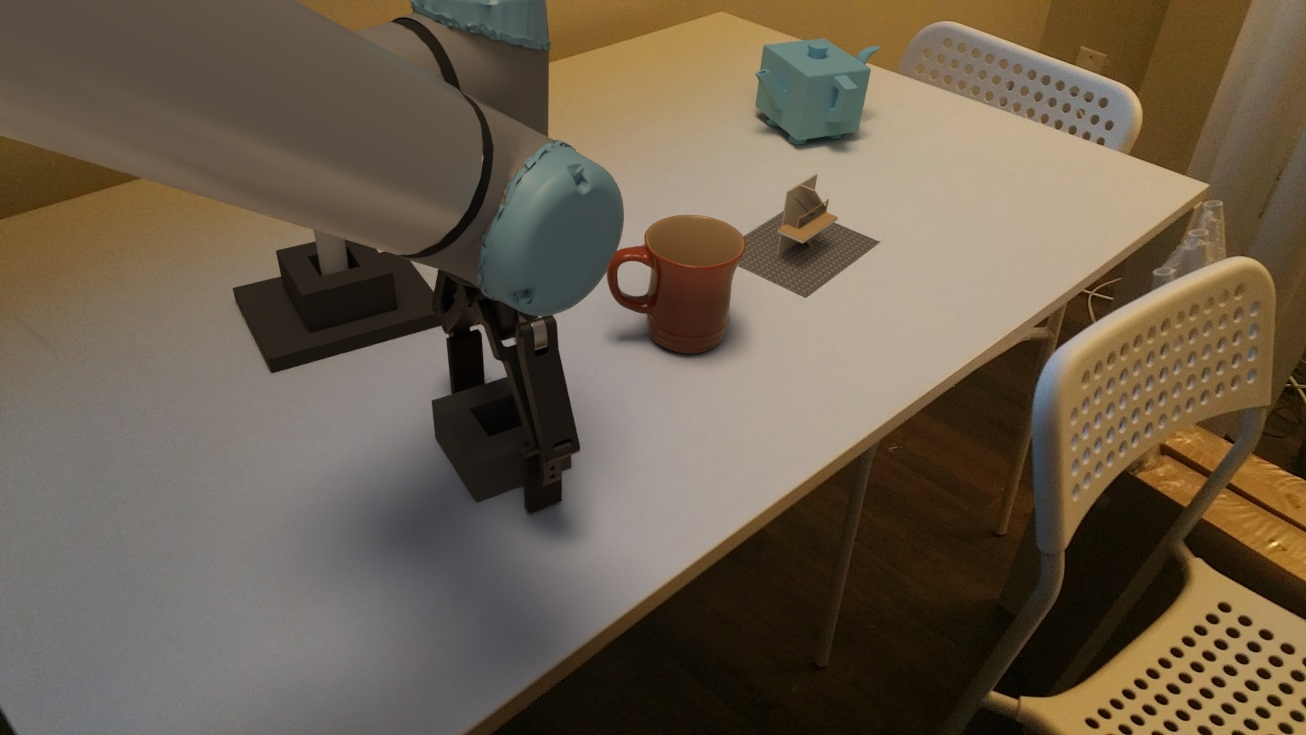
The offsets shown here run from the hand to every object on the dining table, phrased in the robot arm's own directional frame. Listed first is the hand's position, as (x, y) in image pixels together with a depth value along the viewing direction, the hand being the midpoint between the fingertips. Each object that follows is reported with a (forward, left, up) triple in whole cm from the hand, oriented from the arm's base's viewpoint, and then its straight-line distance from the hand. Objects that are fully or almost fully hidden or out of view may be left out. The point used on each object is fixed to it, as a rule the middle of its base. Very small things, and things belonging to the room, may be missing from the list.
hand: (504, 448), depth 77 cm
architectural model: (+41, +14, -1) cm, 43 cm away
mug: (+20, +7, -1) cm, 21 cm away
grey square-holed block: (0, 0, 0) cm, 0 cm away
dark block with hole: (-5, +24, +1) cm, 25 cm away
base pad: (-5, +24, 0) cm, 25 cm away
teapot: (+61, +37, -1) cm, 71 cm away
